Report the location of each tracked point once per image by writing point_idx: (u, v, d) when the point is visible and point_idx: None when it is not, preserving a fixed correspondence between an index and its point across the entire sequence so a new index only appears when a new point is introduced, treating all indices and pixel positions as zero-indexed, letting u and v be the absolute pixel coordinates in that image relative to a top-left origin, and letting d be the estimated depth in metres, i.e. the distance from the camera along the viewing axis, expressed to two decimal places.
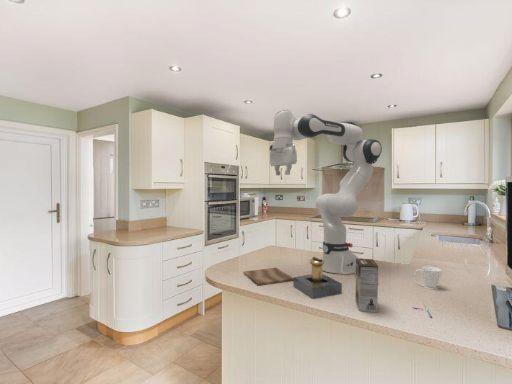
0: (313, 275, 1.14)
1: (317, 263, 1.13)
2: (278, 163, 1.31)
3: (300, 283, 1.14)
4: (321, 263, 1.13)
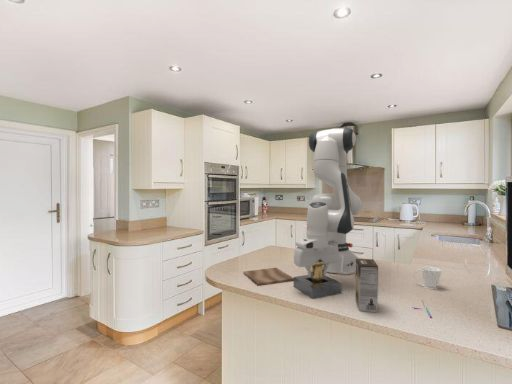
0: (313, 275, 1.14)
1: (317, 263, 1.13)
2: None
3: (300, 283, 1.14)
4: (321, 263, 1.13)
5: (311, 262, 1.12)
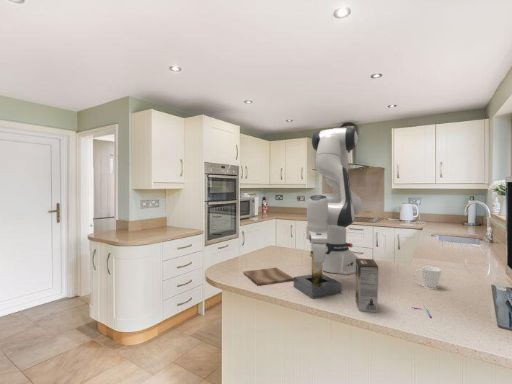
0: None
1: None
2: None
3: (300, 283, 1.14)
4: None
5: None
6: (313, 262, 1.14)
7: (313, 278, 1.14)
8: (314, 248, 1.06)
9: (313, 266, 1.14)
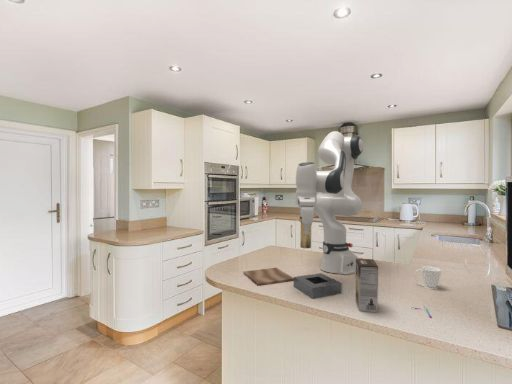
0: None
1: None
2: None
3: (300, 283, 1.14)
4: None
5: None
6: (302, 227, 1.17)
7: (302, 242, 1.17)
8: (302, 211, 1.09)
9: (302, 231, 1.17)
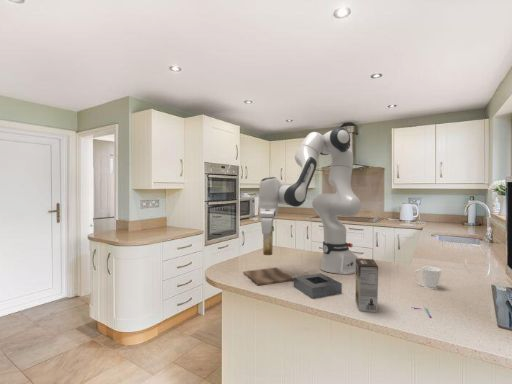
0: (269, 241, 1.29)
1: (272, 229, 1.29)
2: None
3: (300, 283, 1.14)
4: None
5: (271, 229, 1.27)
6: (264, 236, 1.30)
7: (264, 250, 1.30)
8: (262, 221, 1.22)
9: (264, 239, 1.30)
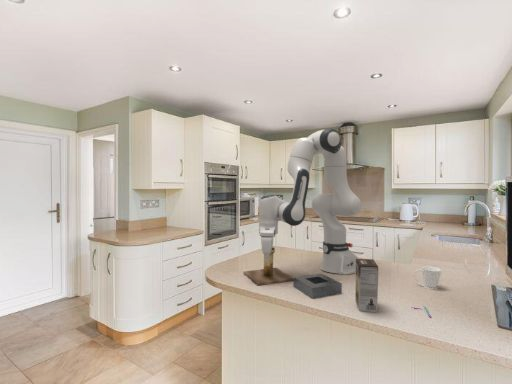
0: (269, 263, 1.29)
1: (273, 251, 1.29)
2: None
3: (300, 283, 1.14)
4: (274, 250, 1.31)
5: (271, 247, 1.27)
6: None
7: (264, 271, 1.30)
8: (262, 241, 1.22)
9: (264, 260, 1.30)
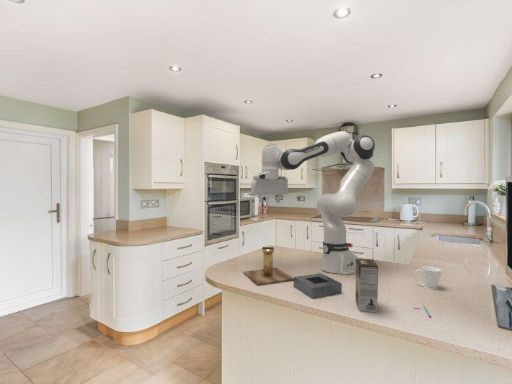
0: (269, 262, 1.29)
1: (272, 250, 1.29)
2: (269, 192, 1.43)
3: (300, 283, 1.14)
4: None
5: (264, 191, 1.42)
6: (264, 257, 1.30)
7: (264, 271, 1.30)
8: None
9: (264, 260, 1.30)
